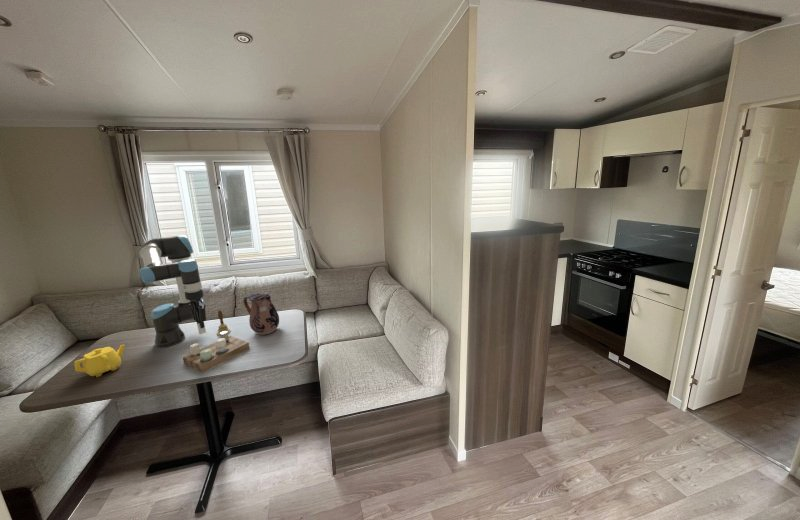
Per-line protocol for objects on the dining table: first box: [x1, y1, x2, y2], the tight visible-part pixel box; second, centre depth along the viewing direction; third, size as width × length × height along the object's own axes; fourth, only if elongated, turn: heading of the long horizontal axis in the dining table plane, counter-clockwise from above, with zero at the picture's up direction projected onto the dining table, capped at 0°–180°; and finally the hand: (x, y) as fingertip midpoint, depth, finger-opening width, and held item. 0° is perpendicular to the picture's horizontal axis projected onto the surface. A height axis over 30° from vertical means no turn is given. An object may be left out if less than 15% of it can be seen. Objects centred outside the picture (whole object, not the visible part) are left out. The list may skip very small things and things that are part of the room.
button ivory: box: [214, 337, 227, 349], centre depth 162 cm, size 5×5×4 cm
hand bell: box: [216, 309, 232, 337], centre depth 193 cm, size 8×8×16 cm
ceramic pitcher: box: [242, 291, 280, 336], centre depth 191 cm, size 18×21×25 cm
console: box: [182, 335, 250, 373], centre depth 167 cm, size 19×26×4 cm
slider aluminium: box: [219, 331, 229, 341], centre depth 175 cm, size 3×3×5 cm
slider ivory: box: [189, 342, 201, 355], centre depth 162 cm, size 3×3×5 cm
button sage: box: [200, 349, 213, 361], centre depth 156 cm, size 5×5×4 cm
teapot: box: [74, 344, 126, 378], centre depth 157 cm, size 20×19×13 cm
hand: (202, 333), depth 155 cm, fingers closed
